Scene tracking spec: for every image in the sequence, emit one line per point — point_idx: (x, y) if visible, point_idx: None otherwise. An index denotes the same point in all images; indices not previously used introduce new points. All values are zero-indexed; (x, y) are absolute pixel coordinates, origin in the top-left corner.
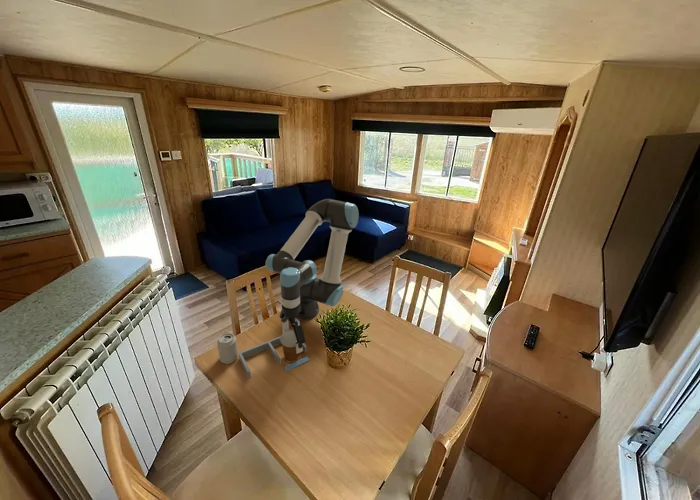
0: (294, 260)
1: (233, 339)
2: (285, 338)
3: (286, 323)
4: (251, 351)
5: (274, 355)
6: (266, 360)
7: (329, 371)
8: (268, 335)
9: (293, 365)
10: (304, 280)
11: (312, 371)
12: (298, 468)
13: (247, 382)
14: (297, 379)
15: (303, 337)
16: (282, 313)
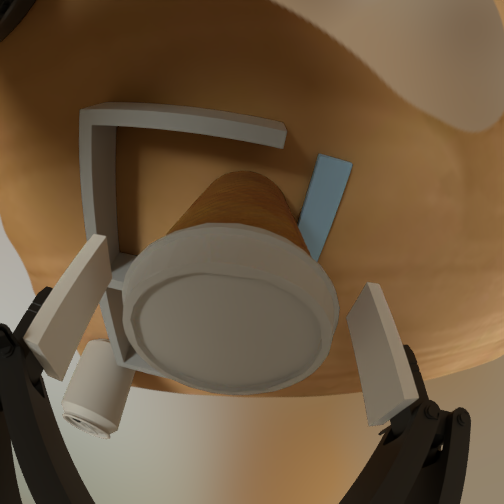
0: None
1: (95, 422)
2: (211, 371)
3: (56, 344)
4: (121, 331)
5: None
6: None
7: (469, 151)
8: (47, 216)
9: (310, 249)
10: None
11: (409, 203)
12: (471, 364)
13: None
14: (376, 275)
15: (459, 464)
16: (14, 479)
